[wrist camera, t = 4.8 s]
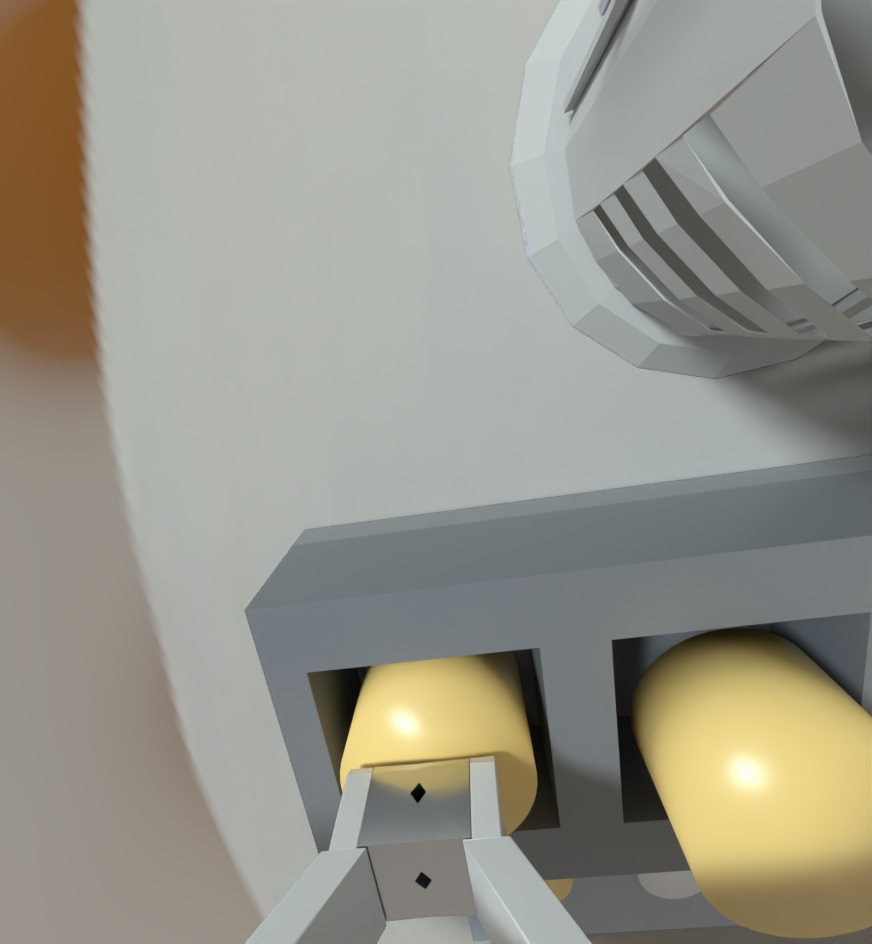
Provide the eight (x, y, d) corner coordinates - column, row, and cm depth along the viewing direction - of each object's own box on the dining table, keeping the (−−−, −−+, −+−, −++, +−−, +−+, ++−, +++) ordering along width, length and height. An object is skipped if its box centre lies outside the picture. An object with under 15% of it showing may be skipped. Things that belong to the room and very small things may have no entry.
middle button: (816, 772, 11) (942, 931, 8) (633, 787, 11) (692, 944, 8) (827, 617, 10) (980, 738, 7) (624, 639, 10) (690, 762, 7)
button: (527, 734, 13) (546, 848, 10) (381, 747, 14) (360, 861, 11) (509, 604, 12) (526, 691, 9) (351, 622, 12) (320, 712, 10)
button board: (960, 898, 17) (1112, 1071, 13) (405, 931, 18) (392, 1093, 14) (1053, 430, 12) (1330, 480, 8) (304, 529, 14) (244, 610, 10)
